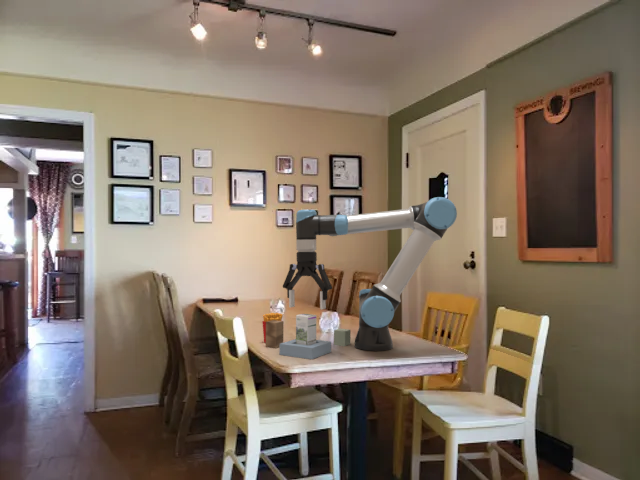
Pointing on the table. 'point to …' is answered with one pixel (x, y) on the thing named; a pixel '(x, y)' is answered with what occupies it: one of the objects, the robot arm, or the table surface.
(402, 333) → the table surface
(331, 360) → the table surface
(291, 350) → the hole block
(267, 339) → the walnut peg
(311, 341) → the syrup box
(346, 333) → the greygreen peg
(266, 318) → the french fries
